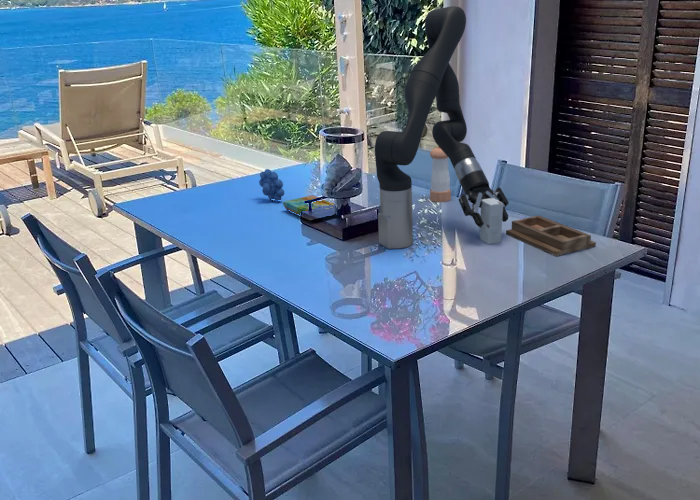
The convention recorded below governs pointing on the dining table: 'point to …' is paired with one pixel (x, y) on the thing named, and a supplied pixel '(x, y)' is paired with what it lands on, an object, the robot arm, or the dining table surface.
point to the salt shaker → (439, 176)
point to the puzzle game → (304, 204)
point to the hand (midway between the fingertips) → (493, 223)
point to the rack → (549, 235)
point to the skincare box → (491, 220)
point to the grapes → (271, 185)
